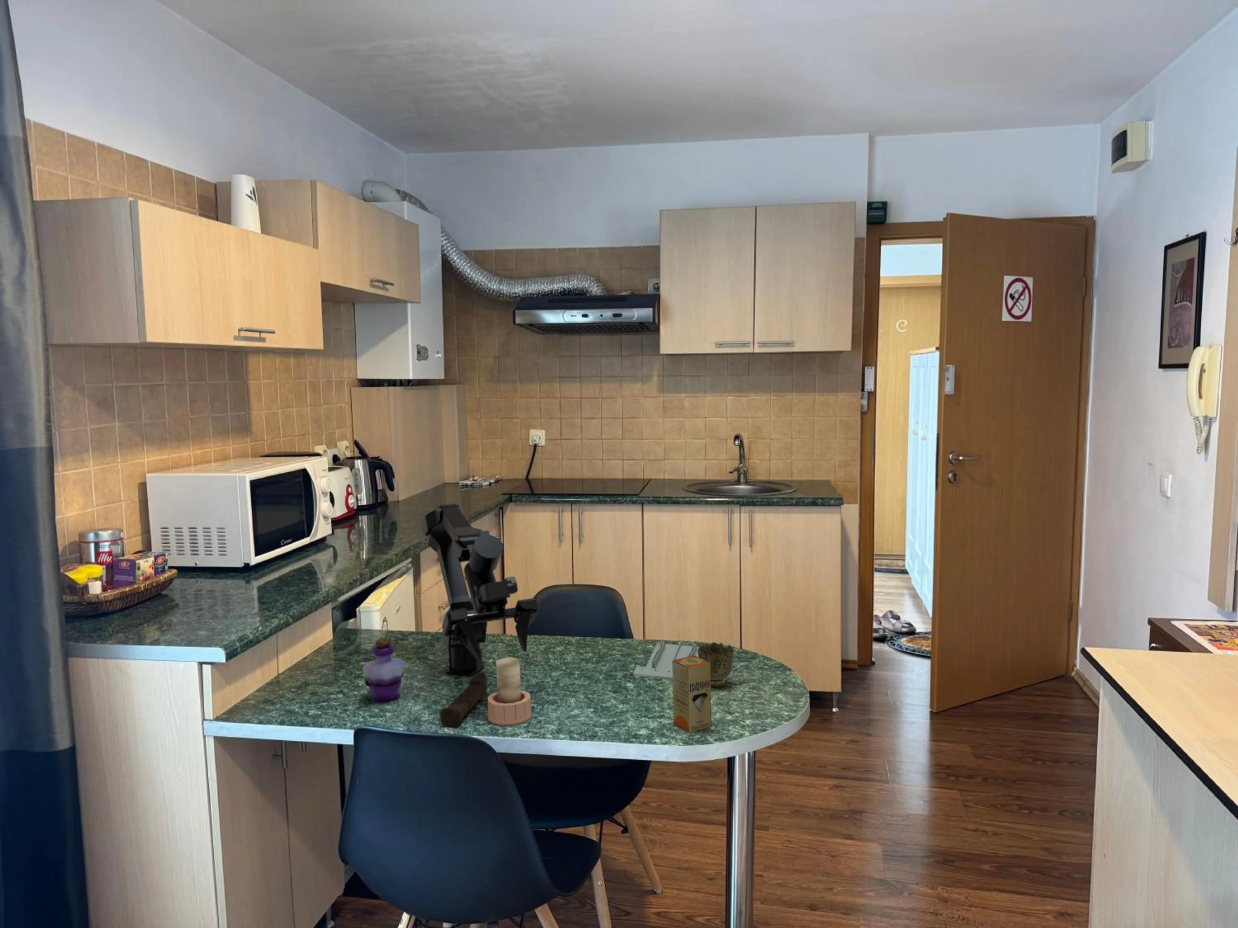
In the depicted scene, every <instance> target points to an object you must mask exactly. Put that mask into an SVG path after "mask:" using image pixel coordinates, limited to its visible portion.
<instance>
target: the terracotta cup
mask: <svg viewBox="0 0 1238 928" xmlns="http://www.w3.org/2000/svg"><path fill="white" fill-rule="evenodd" d="M531 700H532V699H531V694H530V693H529V692H527V691H525V690H522V689H521V701H518V702H515V703H506V704H505V703H498V696H497V691H495V692H493V693H491V694H490V695H488V696H487V720H488V721H489V723H491V724H494V725H496V726H515V725H519V724H523V723H525V722H527V721H529V720H530V719H531V718H532V707H531V706H532V704H531Z"/></svg>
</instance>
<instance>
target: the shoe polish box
mask: <svg viewBox="0 0 1238 928" xmlns="http://www.w3.org/2000/svg"><path fill="white" fill-rule="evenodd" d="M672 672H673V679H672V711H673V712H672V713H673V715H672V716H673V717H672V718H673V721H672V723H673V725H675V726H677V727H679V728H680V729H683V731H685V732H687V733H694V732H697V731H700V730H703V729H708V728H710V727H712V686H711V667H710V662H708V661H706V660H704V659H701V658H699V657H697V656H694V655H693V656H689V657H685V658H681V659H676V660H672Z"/></svg>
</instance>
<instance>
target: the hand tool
mask: <svg viewBox="0 0 1238 928" xmlns="http://www.w3.org/2000/svg"><path fill="white" fill-rule="evenodd" d="M487 683H488V682H487V676H486V673H484V672H479V673H476V675H474V676H473V677H472V678H470V680H469V685H468V686H467V688H465V689H464V691H462V692H461V693H460V694H459V695H458V696H457V697H456V698H455V699H453V701H452V702H451V703H450V704H448V706H447V707H443V708H442V709H441V712H440V714H439V715H440V723H441V724H442V725H443V727H448V728H449V727H450V728H455V727H458V726H460V724H461V723H462V722H463V719H464V717H465V716H466V715H467V713H468V712H469V711H471V710H472V708H473V707H474V706H476V704H477V703H478V702H482V701H483V700H484V699H485V697H486V693H487Z"/></svg>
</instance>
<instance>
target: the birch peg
mask: <svg viewBox="0 0 1238 928" xmlns="http://www.w3.org/2000/svg"><path fill="white" fill-rule="evenodd" d="M520 661H521V660H520V659H519V658H517V657H510V656H509V657H503V658H500V659H499V658H498V659H497V660H496V662H495V667H496V687H497V688H496V690H497V691H496V692H497V696H498V703H505V704H506V703H515V702H518V701H521V690H522V688H521V687H522V685H521V665H520V663H521V662H520Z"/></svg>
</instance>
